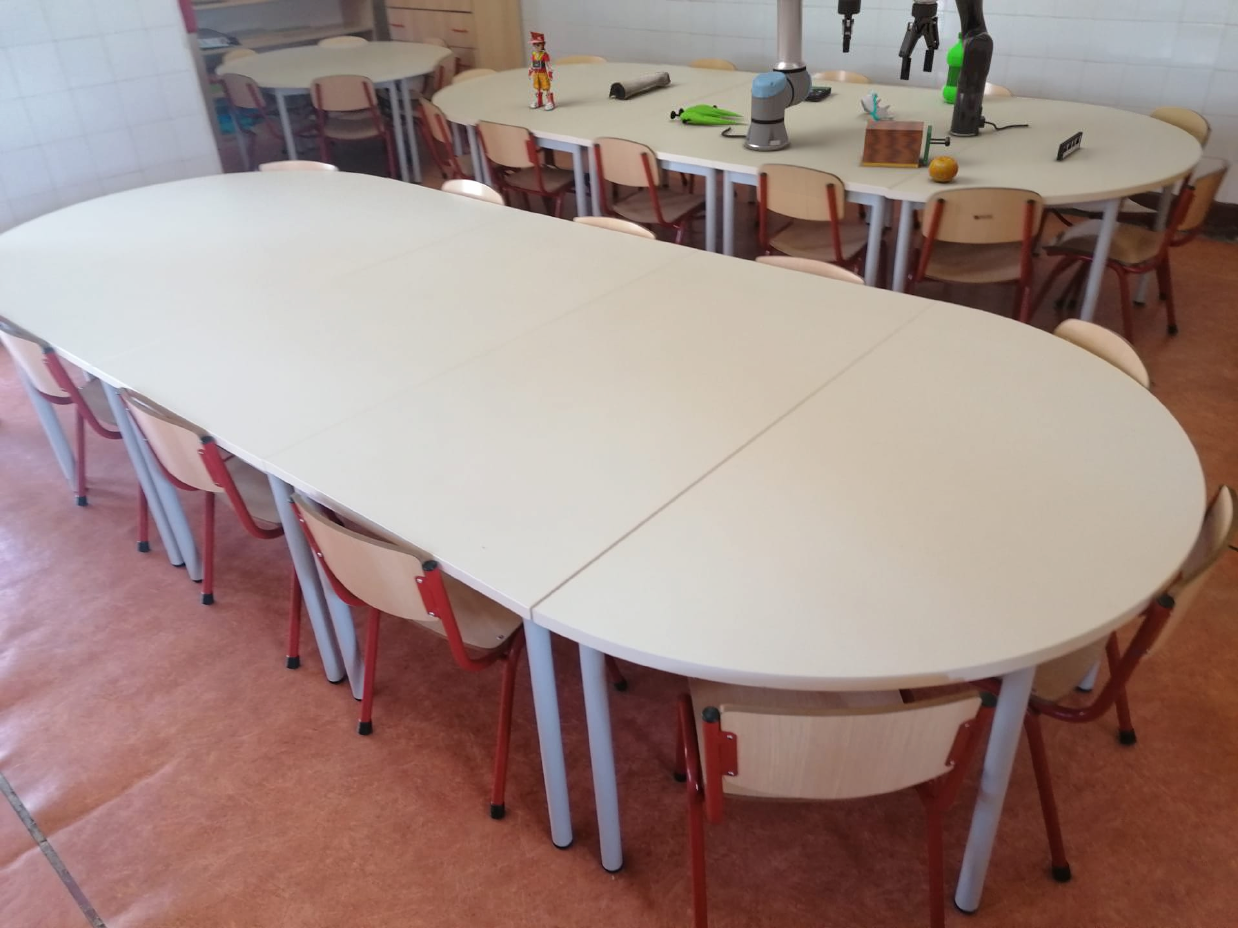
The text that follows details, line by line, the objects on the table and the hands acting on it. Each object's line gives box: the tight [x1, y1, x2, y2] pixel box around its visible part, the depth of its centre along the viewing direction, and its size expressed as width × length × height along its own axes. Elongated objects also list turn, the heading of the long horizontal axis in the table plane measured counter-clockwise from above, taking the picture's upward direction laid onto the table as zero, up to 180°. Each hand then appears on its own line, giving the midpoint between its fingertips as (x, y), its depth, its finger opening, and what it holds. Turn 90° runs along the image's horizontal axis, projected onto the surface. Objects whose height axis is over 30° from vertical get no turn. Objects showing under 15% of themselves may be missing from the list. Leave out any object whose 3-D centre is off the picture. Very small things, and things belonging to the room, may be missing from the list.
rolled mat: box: [608, 71, 672, 101], centre depth 395 cm, size 30×9×10 cm
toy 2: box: [669, 104, 746, 125], centre depth 349 cm, size 28×5×30 cm
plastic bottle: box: [942, 31, 964, 104], centre depth 348 cm, size 10×10×25 cm
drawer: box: [919, 125, 951, 165], centre depth 291 cm, size 23×9×10 cm, turn 73°
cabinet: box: [861, 120, 925, 169], centre depth 293 cm, size 18×10×12 cm, turn 73°
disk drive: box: [803, 85, 832, 102], centre depth 372 cm, size 10×3×15 cm
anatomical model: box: [860, 90, 895, 121], centre depth 340 cm, size 15×10×10 cm
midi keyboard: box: [1056, 131, 1084, 161], centre depth 291 cm, size 18×1×5 cm, turn 138°
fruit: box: [928, 155, 959, 183], centre depth 276 cm, size 8×8×8 cm
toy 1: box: [527, 31, 556, 111], centre depth 374 cm, size 12×9×30 cm
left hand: (915, 76), depth 288 cm, fingers open, 13 cm apart
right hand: (845, 50), depth 310 cm, fingers open, 8 cm apart
